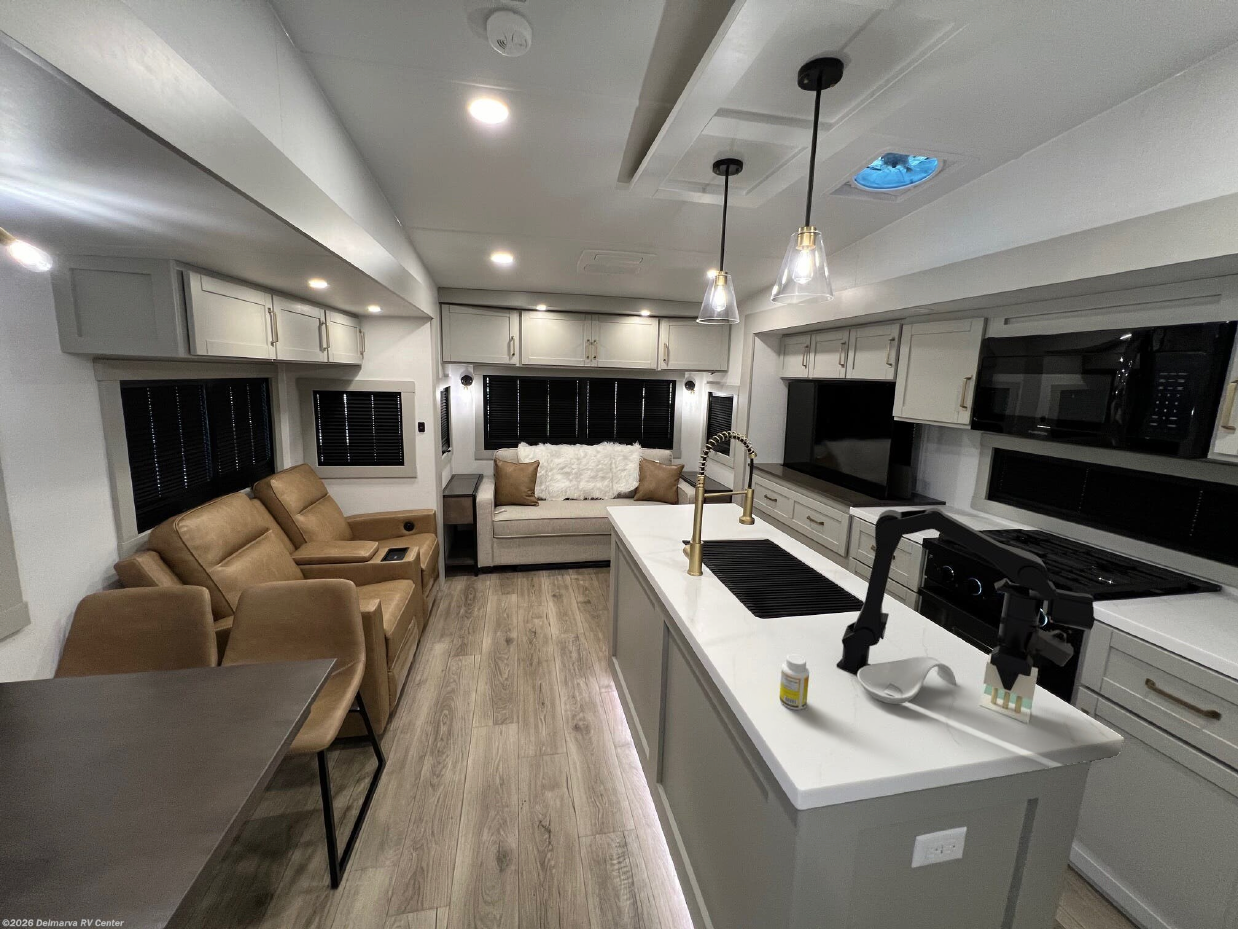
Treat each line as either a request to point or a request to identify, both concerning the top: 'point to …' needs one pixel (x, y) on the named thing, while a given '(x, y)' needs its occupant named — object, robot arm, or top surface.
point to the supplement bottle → (794, 682)
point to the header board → (1006, 703)
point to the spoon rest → (901, 677)
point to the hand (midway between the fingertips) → (1008, 684)
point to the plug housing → (1021, 686)
